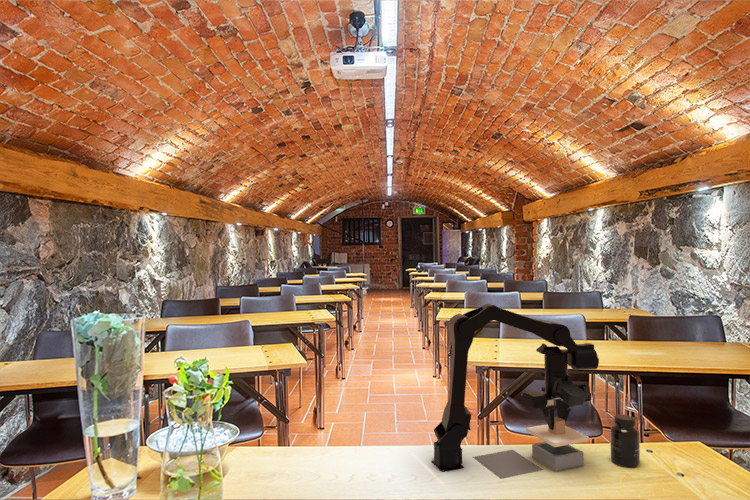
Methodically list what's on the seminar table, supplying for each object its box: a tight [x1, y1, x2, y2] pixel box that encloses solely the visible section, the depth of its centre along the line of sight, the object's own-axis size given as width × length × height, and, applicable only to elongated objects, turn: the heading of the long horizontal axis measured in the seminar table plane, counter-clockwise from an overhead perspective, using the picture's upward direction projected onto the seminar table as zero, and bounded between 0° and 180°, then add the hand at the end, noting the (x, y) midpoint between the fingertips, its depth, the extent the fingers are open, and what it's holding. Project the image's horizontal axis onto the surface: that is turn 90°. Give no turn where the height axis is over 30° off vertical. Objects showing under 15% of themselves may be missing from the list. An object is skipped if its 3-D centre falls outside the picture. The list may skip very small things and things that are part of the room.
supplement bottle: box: [609, 413, 641, 468], centre depth 123 cm, size 7×7×12 cm
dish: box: [531, 441, 585, 473], centre depth 123 cm, size 9×9×4 cm
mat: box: [472, 449, 544, 479], centre depth 122 cm, size 13×13×1 cm
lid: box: [525, 416, 590, 447], centre depth 123 cm, size 11×11×4 cm
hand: (556, 428), depth 123 cm, fingers closed on lid, 3 cm apart
